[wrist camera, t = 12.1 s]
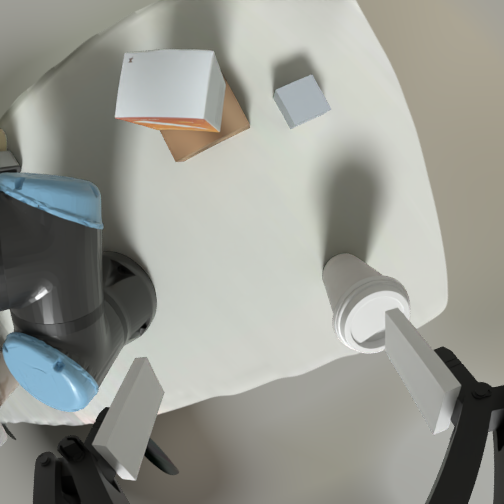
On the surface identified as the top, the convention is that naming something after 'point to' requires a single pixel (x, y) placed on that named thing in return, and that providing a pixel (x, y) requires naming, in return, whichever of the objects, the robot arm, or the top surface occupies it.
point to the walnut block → (194, 142)
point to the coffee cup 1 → (3, 141)
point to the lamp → (5, 390)
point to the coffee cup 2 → (361, 302)
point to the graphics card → (8, 163)
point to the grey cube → (301, 101)
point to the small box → (171, 90)
